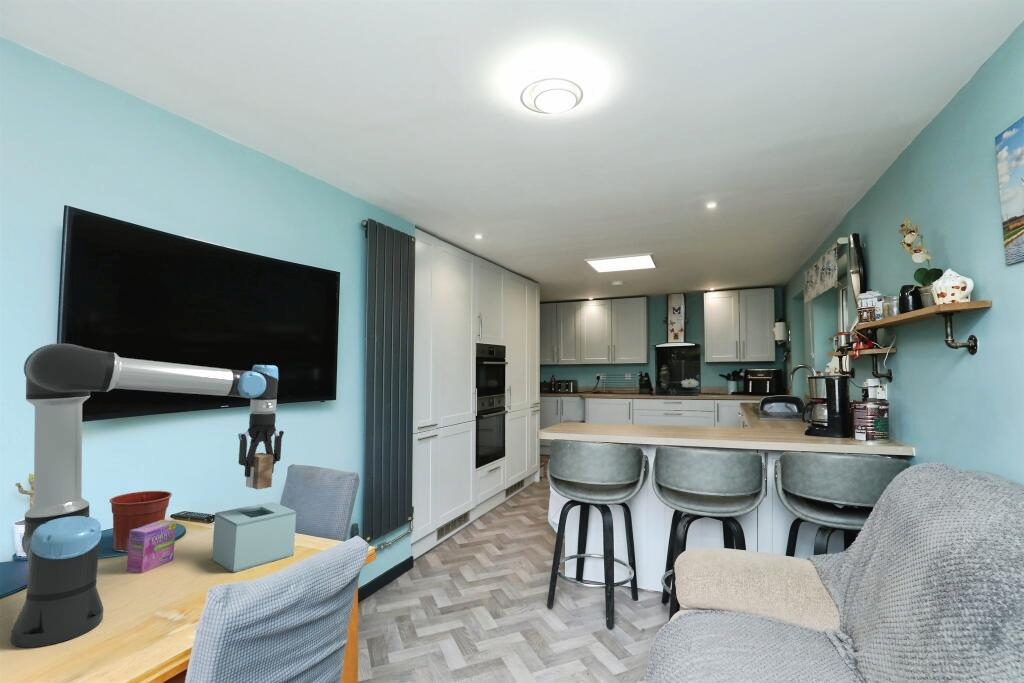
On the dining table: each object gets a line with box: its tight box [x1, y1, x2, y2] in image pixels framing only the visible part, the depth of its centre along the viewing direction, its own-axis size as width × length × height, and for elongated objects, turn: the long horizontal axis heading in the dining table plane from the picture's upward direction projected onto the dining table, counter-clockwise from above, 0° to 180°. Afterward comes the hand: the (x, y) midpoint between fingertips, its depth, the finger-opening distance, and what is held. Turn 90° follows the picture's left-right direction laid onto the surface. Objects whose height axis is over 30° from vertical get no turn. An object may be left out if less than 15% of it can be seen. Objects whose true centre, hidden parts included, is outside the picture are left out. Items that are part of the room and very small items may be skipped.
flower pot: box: [109, 490, 173, 551], centre depth 158 cm, size 16×16×16 cm
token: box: [245, 452, 273, 490], centre depth 153 cm, size 4×7×10 cm, turn 56°
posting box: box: [211, 501, 297, 574], centre depth 152 cm, size 18×16×14 cm
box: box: [126, 519, 177, 574], centre depth 143 cm, size 10×6×12 cm, turn 168°
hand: (258, 485), depth 153 cm, fingers closed on token, 5 cm apart
